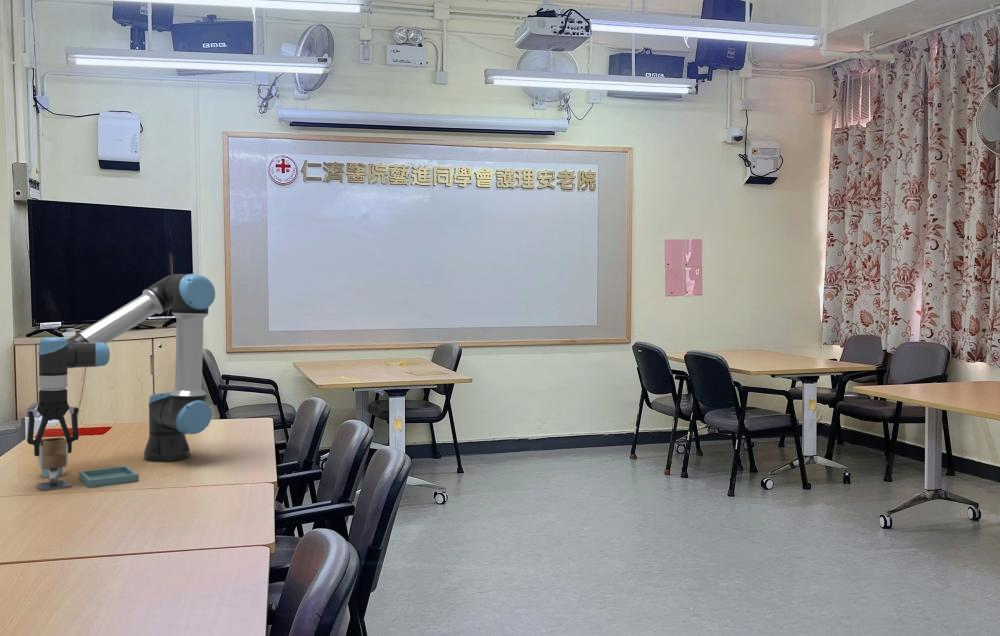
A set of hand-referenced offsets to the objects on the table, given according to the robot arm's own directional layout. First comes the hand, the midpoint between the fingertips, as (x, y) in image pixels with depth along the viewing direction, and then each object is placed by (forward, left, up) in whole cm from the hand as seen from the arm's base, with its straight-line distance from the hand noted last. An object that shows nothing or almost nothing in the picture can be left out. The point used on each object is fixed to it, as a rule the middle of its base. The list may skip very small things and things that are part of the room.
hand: (53, 465), depth 241 cm
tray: (-15, +1, -6) cm, 16 cm away
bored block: (0, 0, 0) cm, 0 cm away
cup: (-2, -15, -7) cm, 17 cm away
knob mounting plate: (0, 0, -6) cm, 6 cm away
